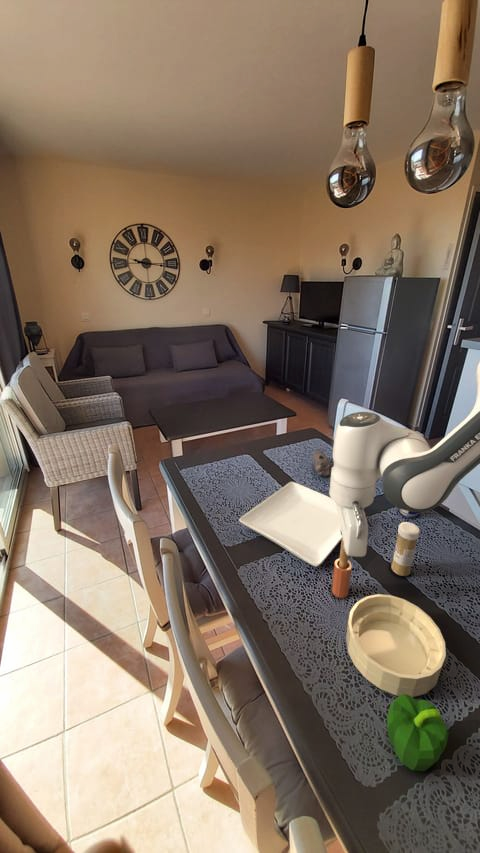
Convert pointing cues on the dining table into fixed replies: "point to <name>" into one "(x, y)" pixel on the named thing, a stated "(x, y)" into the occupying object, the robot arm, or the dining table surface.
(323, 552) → the square plate
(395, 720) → the bell pepper
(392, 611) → the bowl
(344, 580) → the stick holder
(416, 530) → the sprinkles bottle
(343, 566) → the stirring stick
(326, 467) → the perforated stone tool
